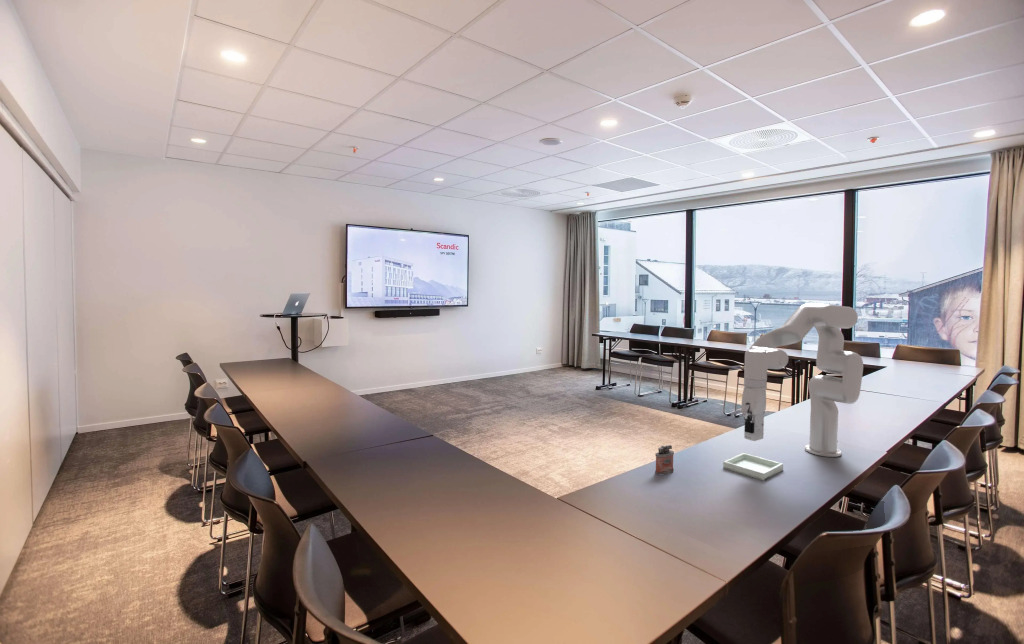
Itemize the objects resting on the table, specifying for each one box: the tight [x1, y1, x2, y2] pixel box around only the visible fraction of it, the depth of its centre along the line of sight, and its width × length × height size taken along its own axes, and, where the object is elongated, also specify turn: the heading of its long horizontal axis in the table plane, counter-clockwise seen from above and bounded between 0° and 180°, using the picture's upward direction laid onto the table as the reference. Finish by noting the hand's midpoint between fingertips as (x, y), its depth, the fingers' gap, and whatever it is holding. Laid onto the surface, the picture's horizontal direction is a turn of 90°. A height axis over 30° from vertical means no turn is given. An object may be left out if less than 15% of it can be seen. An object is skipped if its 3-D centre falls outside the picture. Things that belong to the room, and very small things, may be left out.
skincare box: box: [743, 411, 765, 442], centre depth 178 cm, size 6×4×12 cm
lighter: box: [654, 444, 675, 475], centre depth 177 cm, size 8×3×10 cm, turn 117°
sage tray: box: [722, 452, 784, 481], centre depth 179 cm, size 15×15×2 cm
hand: (753, 430), depth 178 cm, fingers closed on skincare box, 6 cm apart
